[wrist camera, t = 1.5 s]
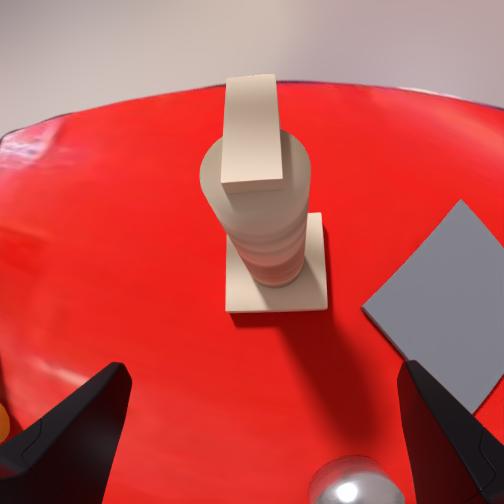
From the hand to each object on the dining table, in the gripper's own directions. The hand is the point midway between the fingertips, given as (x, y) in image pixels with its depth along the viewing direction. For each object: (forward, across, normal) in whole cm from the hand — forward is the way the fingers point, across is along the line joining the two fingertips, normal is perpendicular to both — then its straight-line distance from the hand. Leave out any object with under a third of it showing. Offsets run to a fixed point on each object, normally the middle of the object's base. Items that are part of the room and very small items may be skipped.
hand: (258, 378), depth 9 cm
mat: (+11, -15, +7) cm, 20 cm away
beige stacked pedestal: (+14, 0, +4) cm, 15 cm away
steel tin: (+2, -5, +17) cm, 18 cm away
